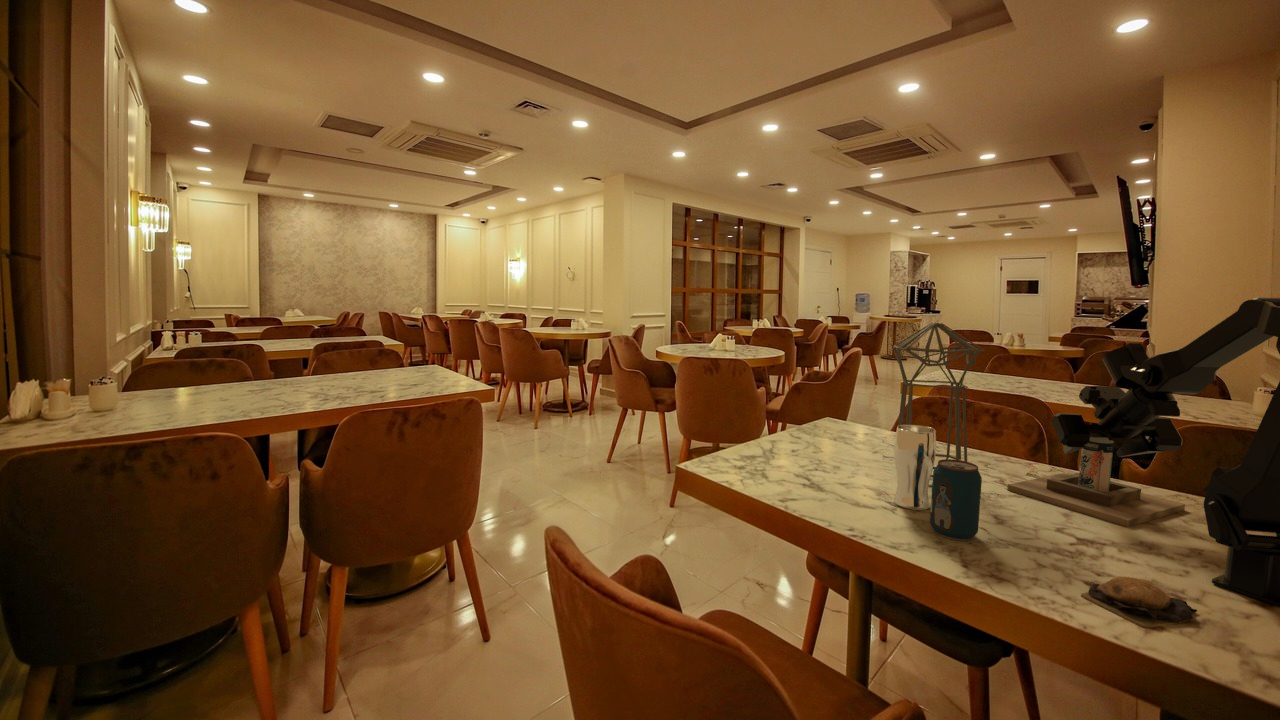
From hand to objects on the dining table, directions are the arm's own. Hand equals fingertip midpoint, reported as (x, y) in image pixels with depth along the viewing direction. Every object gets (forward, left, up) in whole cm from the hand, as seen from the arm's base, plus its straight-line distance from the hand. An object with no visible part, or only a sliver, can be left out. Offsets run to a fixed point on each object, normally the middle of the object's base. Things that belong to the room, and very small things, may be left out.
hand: (1091, 453), depth 103 cm
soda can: (-42, -1, -9) cm, 43 cm away
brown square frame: (-1, -1, -9) cm, 9 cm away
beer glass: (-37, +11, -9) cm, 39 cm away
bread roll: (-40, -25, -10) cm, 48 cm away
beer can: (-1, -1, -8) cm, 8 cm away
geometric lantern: (-21, +20, -9) cm, 30 cm away
